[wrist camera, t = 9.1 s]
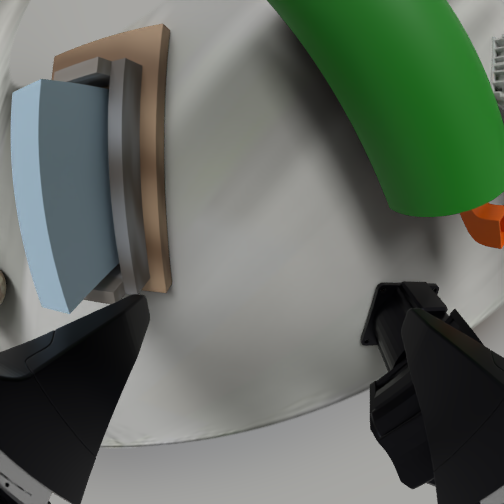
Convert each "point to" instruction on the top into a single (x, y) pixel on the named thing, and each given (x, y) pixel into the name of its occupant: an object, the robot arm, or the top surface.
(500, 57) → the circuit breaker
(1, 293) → the lumpy boulder
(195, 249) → the top surface
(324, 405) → the top surface
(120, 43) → the cabinet base
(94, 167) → the cabinet door
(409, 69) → the motor
